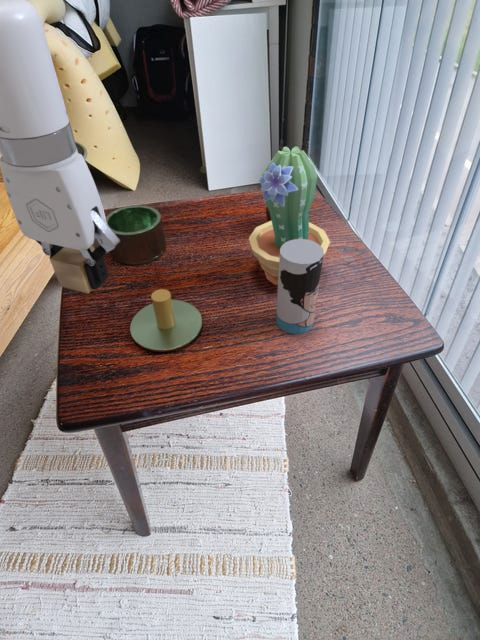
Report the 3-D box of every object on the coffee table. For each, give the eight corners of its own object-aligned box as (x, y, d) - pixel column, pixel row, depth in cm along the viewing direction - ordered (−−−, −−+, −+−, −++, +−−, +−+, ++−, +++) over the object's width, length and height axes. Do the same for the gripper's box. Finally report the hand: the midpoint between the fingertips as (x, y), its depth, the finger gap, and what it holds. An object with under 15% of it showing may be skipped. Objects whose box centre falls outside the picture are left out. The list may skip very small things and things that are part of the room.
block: (60, 286, 57) (49, 259, 53) (80, 267, 60) (71, 240, 56) (88, 293, 55) (79, 266, 52) (107, 274, 58) (99, 247, 55)
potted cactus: (237, 262, 88) (233, 141, 71) (301, 244, 93) (312, 126, 75) (269, 306, 78) (274, 178, 61) (340, 284, 82) (363, 159, 65)
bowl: (101, 259, 90) (92, 228, 85) (129, 231, 98) (122, 201, 93) (149, 269, 87) (143, 238, 82) (174, 239, 95) (170, 209, 90)
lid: (117, 343, 72) (107, 311, 67) (152, 298, 81) (145, 266, 75) (184, 362, 69) (178, 329, 64) (213, 312, 77) (210, 280, 72)
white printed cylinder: (306, 338, 72) (315, 268, 62) (270, 327, 74) (273, 257, 64) (318, 314, 76) (329, 244, 66) (284, 303, 79) (289, 235, 68)
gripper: (-51, 146, 44) (15, 282, 57) (83, 169, 40) (122, 311, 53) (1, 123, 49) (51, 252, 62) (125, 141, 45) (152, 276, 58)
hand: (83, 278), depth 57 cm, fingers closed on block, 4 cm apart
